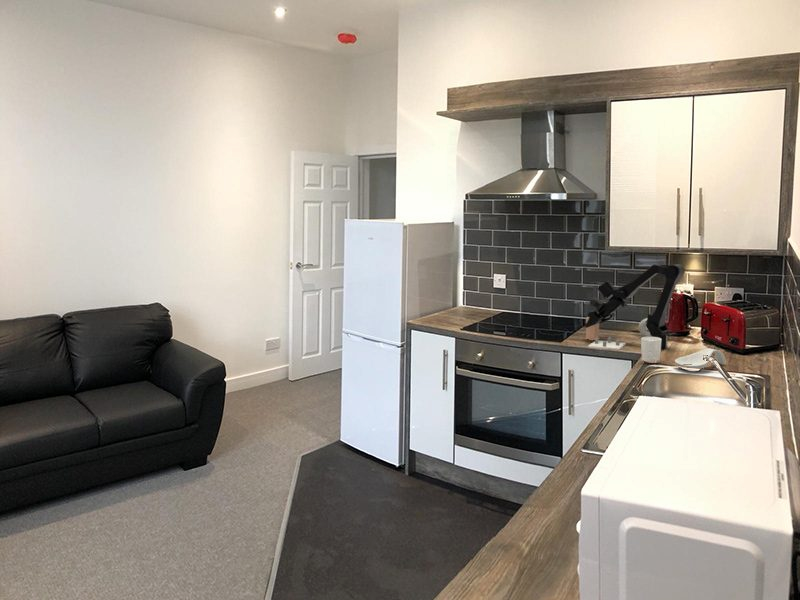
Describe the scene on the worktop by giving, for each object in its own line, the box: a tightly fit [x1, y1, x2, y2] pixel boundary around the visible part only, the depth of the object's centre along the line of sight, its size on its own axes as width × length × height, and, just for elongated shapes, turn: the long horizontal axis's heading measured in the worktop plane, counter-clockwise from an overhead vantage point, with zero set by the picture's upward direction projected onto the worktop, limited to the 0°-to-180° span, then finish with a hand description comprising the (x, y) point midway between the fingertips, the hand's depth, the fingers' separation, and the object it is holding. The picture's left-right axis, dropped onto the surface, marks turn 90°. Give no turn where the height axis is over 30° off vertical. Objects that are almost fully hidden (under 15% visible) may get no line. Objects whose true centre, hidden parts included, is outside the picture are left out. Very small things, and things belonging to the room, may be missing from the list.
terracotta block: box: [585, 316, 600, 341], centre depth 306 cm, size 5×5×11 cm
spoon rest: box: [674, 347, 727, 369], centre depth 247 cm, size 24×12×7 cm, turn 118°
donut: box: [638, 317, 652, 337], centre depth 306 cm, size 10×3×10 cm, turn 64°
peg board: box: [587, 336, 627, 351], centre depth 291 cm, size 14×14×3 cm
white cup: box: [640, 336, 662, 361], centre depth 258 cm, size 8×8×10 cm
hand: (589, 325), depth 307 cm, fingers open, 8 cm apart
